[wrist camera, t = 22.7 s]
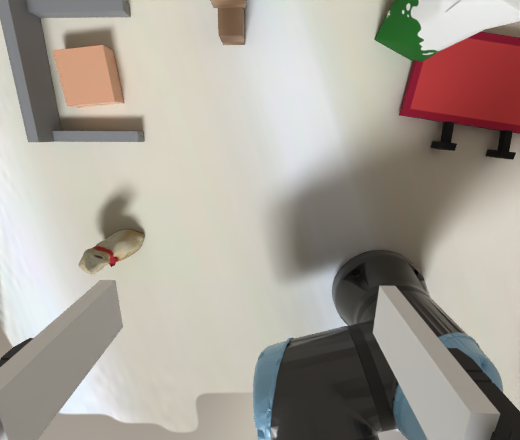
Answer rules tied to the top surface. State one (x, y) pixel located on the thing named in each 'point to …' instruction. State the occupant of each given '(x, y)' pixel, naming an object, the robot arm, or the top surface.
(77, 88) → the salmon square block
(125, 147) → the top surface
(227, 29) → the stepped wooden beam
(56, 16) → the frame
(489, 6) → the milk carton
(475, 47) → the red board with handle
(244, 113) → the top surface
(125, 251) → the tan bunny-shaped figure
